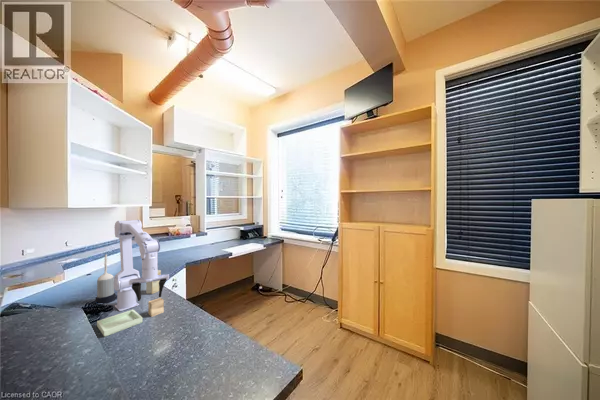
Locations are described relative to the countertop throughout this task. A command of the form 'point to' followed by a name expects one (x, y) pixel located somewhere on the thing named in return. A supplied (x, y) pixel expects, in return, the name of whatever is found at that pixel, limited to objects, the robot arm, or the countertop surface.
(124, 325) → the tray
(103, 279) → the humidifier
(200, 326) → the countertop surface
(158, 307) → the block
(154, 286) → the light wooden block
